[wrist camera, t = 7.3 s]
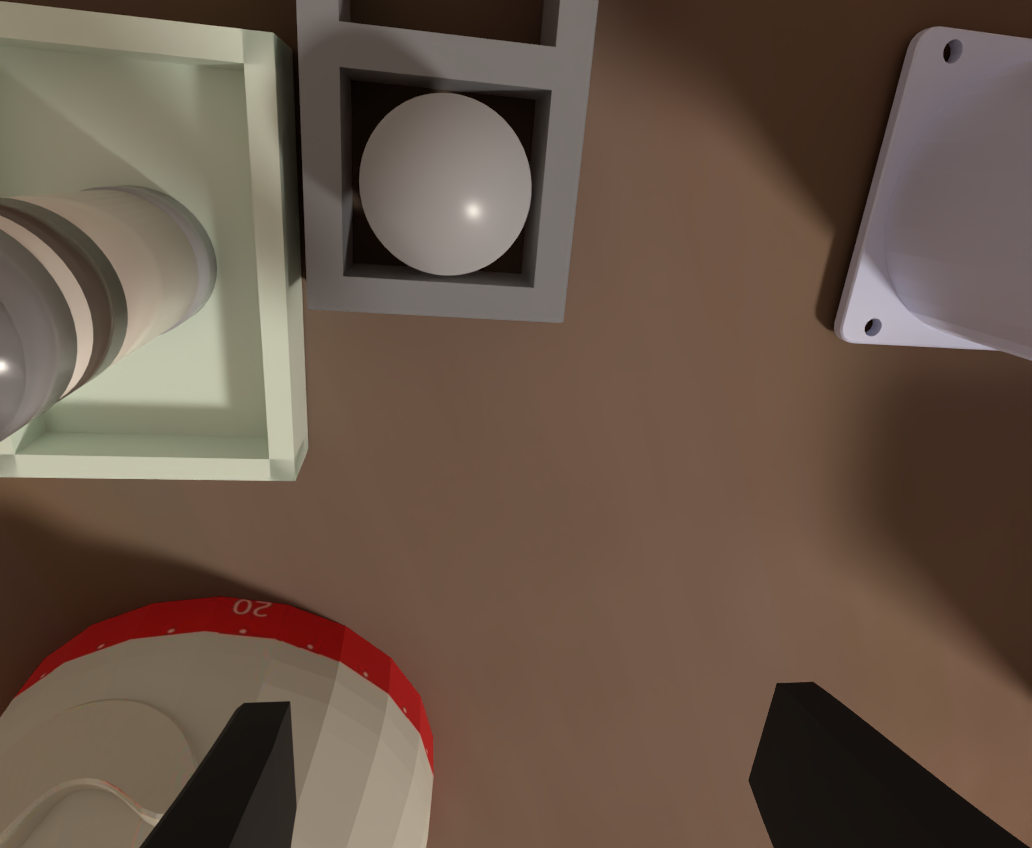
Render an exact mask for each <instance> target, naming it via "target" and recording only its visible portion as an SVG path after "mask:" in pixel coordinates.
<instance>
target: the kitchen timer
mask: <svg viewBox="0 0 1032 848" xmlns="http://www.w3.org/2000/svg"><path fill="white" fill-rule="evenodd" d="M279 701H290V704H291V721H292V737H293V754H294V770H295V787H296V803H297V810H296V816H295V823H294V829H293V836H292V843H291V848H426V844H427V838H428V829H429V819H430V808H431V797H432V786H433V735H432V732H431V729H430V726H429V722H428V719H427V716H426V713H425V709H424V706H423V703H422V700H421V697H420V695H419V694H418V692H417V691H416V690H415V688H414V687H413V686H412V684H411V683H410V682H409V681H408V679H407V678H406V677H405V675H404V674H403V673H402V671H401V670H400V669H399V668H398V666H397V665H396V664H395V662H394V661H393V660H392V658H391V657H389V656H388V655H386V654H385V653H383V652H382V651H381V650H379V649H378V648H376V647H375V646H373V645H372V644H371V643H369V642H368V641H366V640H365V639H363V638H362V637H361V636H359V635H358V634H356V633H355V632H353V631H352V630H351V629H349V628H348V627H346V626H344V625H341V624H339V623H336V622H333V621H330V620H328V619H325V618H322V617H320V616H317V615H314V614H312V613H309V612H306V611H303V610H301V609H298V608H295V607H293V606H290V605H287V604H279V603H271V602H263V601H254V600H246V599H238V598H230V597H222V596H219V597H209V598H200V599H190V600H180V601H170V602H160V603H152V604H149V605H147V606H144V607H141V608H138V609H135V610H133V611H130V612H127V613H124V614H121V615H118V616H116V617H113V618H110V619H107V620H104V621H101V622H99V623H96V624H93V625H91V626H90V627H88V628H87V629H85V630H84V631H83V632H81V633H80V634H78V635H77V636H76V637H74V638H73V639H71V640H70V641H69V642H67V643H66V644H64V645H63V646H62V647H60V648H59V649H57V650H56V651H54V652H53V653H52V654H50V655H49V656H47V657H46V658H45V659H44V660H43V661H42V662H41V664H40V665H39V666H38V667H37V669H36V670H35V671H34V673H33V674H32V675H31V677H30V678H29V679H28V680H27V682H26V683H25V684H24V686H23V687H22V688H21V689H20V691H19V692H18V693H17V695H16V696H15V697H14V699H13V700H12V701H11V703H10V704H9V706H8V707H7V709H6V710H5V711H4V713H3V714H2V716H1V717H0V848H139V847H140V846H141V845H142V843H143V842H144V841H145V839H146V838H147V837H148V835H149V834H150V833H151V831H152V830H153V828H154V827H155V826H156V824H157V823H158V822H159V820H160V819H161V818H162V816H163V815H164V814H165V812H166V811H167V810H168V808H169V807H170V806H171V804H172V803H173V802H174V800H175V799H176V797H177V796H178V795H179V793H180V792H181V790H182V789H183V788H184V786H185V785H186V783H187V782H188V780H189V779H190V778H191V776H192V775H193V773H194V772H195V771H196V769H197V768H198V766H199V765H200V763H201V762H202V760H203V759H204V757H205V756H206V755H207V753H208V752H209V750H210V749H211V747H212V746H213V744H214V743H215V741H216V739H217V738H218V736H219V735H220V733H221V732H222V730H223V729H224V727H225V726H226V724H227V723H228V721H229V719H230V718H231V716H232V715H233V713H234V711H235V710H236V709H237V708H238V707H239V706H241V705H242V704H243V703H252V702H279Z"/></svg>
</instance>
